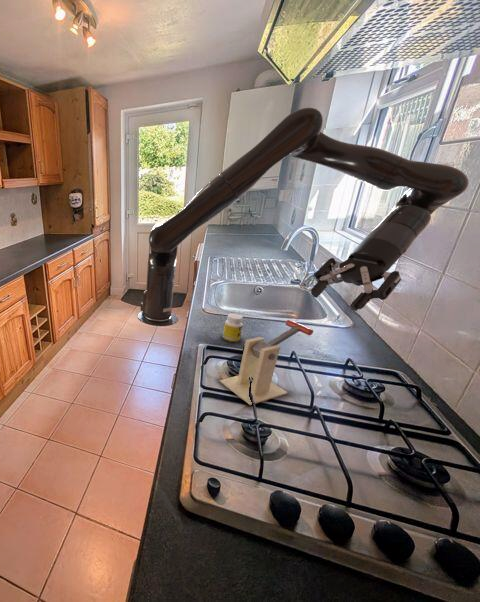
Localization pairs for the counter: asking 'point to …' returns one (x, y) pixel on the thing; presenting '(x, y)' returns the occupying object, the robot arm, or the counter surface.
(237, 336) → the supplement bottle
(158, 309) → the robot arm
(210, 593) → the counter surface
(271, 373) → the bracket
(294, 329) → the lever
